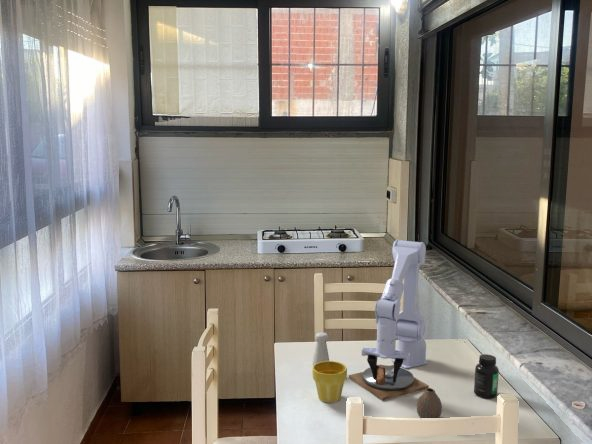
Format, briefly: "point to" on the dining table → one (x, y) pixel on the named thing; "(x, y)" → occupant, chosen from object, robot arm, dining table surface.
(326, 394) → the plant pot
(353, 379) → the base
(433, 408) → the vase
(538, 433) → the dining table surface
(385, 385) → the crank wheel
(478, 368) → the supplement bottle
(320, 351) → the salt shaker
